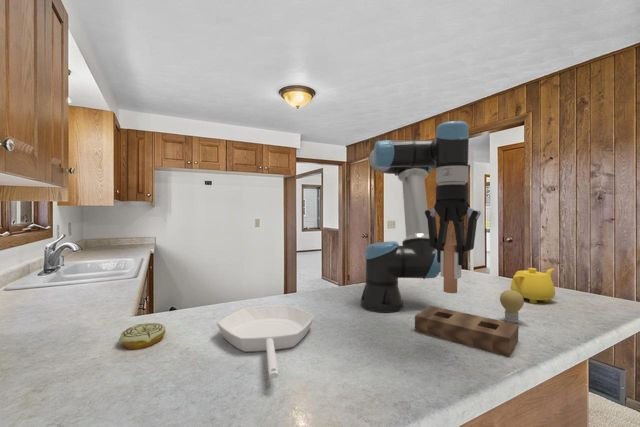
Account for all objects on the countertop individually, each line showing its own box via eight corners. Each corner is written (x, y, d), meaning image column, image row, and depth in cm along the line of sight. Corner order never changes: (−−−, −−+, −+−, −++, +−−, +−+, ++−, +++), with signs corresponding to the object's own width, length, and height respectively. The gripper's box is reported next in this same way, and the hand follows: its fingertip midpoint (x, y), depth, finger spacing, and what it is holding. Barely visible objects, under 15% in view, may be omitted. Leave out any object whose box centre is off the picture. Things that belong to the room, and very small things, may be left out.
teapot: (570, 302, 118) (570, 270, 117) (529, 306, 112) (529, 273, 112) (536, 293, 130) (537, 264, 130) (499, 296, 125) (499, 266, 125)
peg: (441, 291, 78) (441, 244, 78) (446, 289, 80) (446, 243, 80) (454, 294, 76) (454, 245, 76) (459, 291, 78) (459, 244, 78)
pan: (307, 315, 103) (307, 302, 103) (341, 385, 62) (342, 363, 62) (221, 322, 97) (221, 308, 97) (198, 403, 57) (198, 379, 57)
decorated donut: (110, 351, 77) (110, 336, 77) (133, 334, 88) (133, 321, 88) (153, 350, 78) (153, 335, 78) (171, 333, 88) (171, 320, 88)
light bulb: (527, 326, 93) (527, 293, 93) (504, 324, 95) (504, 292, 94) (518, 319, 100) (518, 288, 99) (496, 317, 101) (497, 287, 101)
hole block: (414, 330, 90) (414, 315, 90) (430, 319, 99) (430, 305, 99) (509, 357, 74) (510, 338, 74) (518, 340, 83) (518, 324, 83)
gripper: (415, 185, 81) (414, 274, 81) (480, 181, 70) (479, 284, 70) (428, 186, 86) (427, 270, 86) (490, 183, 75) (489, 279, 75)
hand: (450, 276), depth 78 cm, fingers closed on peg, 3 cm apart
